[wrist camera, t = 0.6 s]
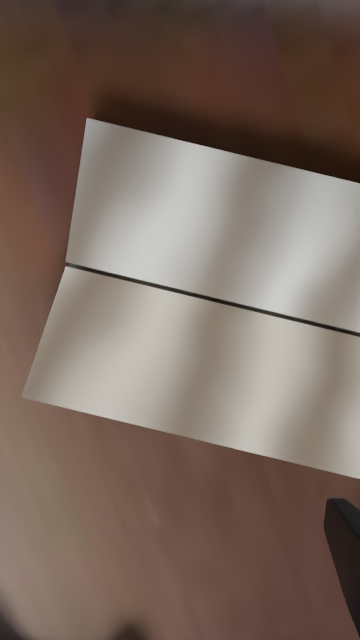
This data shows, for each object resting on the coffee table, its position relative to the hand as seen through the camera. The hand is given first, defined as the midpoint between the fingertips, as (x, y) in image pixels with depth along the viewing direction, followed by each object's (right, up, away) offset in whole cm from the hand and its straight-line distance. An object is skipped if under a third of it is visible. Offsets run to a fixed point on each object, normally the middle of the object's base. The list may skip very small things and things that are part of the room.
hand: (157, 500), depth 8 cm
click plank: (+2, +2, +9) cm, 10 cm away
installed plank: (+4, +10, +10) cm, 14 cm away
